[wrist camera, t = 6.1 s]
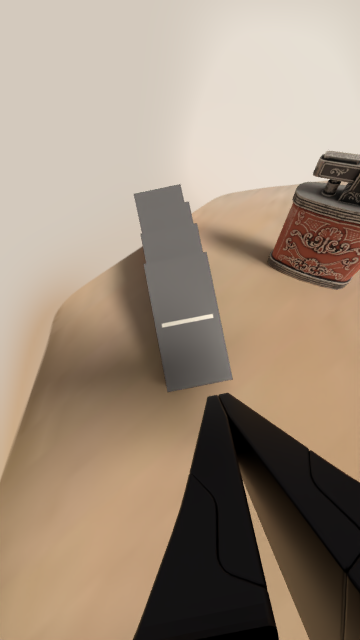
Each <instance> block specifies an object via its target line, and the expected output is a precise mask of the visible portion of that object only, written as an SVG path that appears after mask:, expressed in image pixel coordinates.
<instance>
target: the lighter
mask: <svg viewBox="0 0 360 640" xmlns="http://www.w3.org/2000/svg"><path fill="white" fill-rule="evenodd" d="M313 175H314V176H316V177H321V178H327V179H330V180H329V181H328V183H319V182H306V183H302V184H300V185H299V186H298V187H297V189H296V191H295V194H294V196H293V199H292V200H293V204H292V207H291V209H290V211H289V214H288V216H287V219H286V221H285V223H284V226H283V228H282V231H281V233H280V236H279V238H278V240H277V243H276V245H275V248H274V249H273V250H272V251H271V253H270V256H269V258H268V264H269V265H270V266H271V267H272V268H274V269H276V270H278V271H280V272H282V273H284V274H286V275H288V276H291V277H293V278H296V279H298V280H301V281H304V282H307V283H310V284H313V285H317V286H321V287H325V288H330V289H336V290H338V289H342V288H344V287H345V286H346V285H347V284H348V283H349V282H350V281H351V280H352V276H353V275H354V274H355V273H356V272H357V271H358V270H359V269H360V155H358V154H351V153H343V152H335V151H327V152H326V153H325V154H323V155H322V156H321V157H320V159H319V161H318V163H317V166H316V168H315V170H314V173H313ZM341 181H343V182H349V183H348V184H347V185H346V186H344V185H340V183H341Z"/></svg>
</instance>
